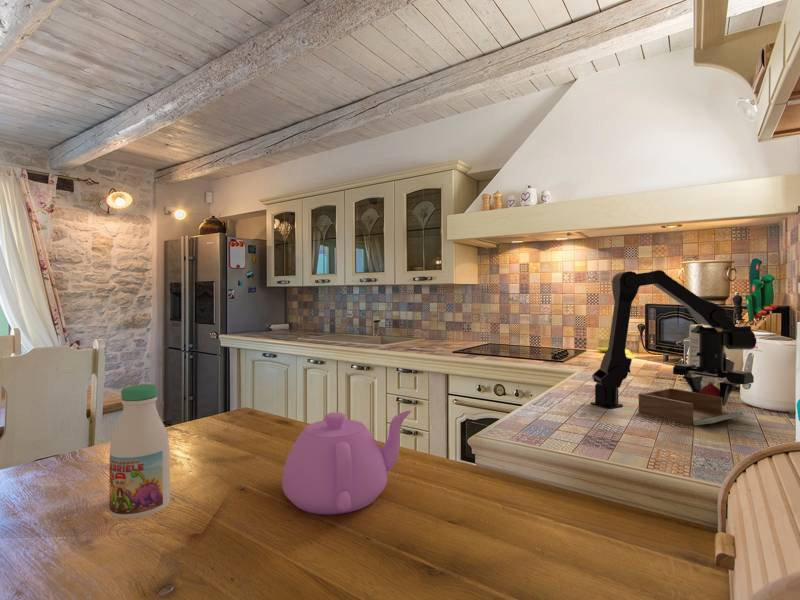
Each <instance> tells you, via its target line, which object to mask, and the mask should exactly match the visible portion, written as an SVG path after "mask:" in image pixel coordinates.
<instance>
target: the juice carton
mask: <svg viewBox="0 0 800 600" xmlns="http://www.w3.org/2000/svg"><path fill="white" fill-rule="evenodd" d="M697 325H702V326H703V327H704V328H713V327H711V326H709V325H703V324H701V323H699V324H690V325H689V333H688V336H689V338H688V339H689V341H688V342H689V343H688V344H689V345H688V349H689V350H688V353H689V355H688V357H689V360H688V361H689V362H688V364H689V365H695V366H696V368H697V367H698V366H699V356H697V352H699V334H697V333H692V332H691V330H693V329H694V328H695V327H696V326H697ZM715 329H716V330H717V331H722V329H718V328H715ZM726 351H727V348H726V347H725V346H724V345H723V353H726ZM699 376H703V375H699ZM709 382H712V383H713V385H714V386H716V387H717V388H718V389H719V390H720V382H724V378H717V377H710V376H703V378H702V381H701V389H702V388H703V387H705V386H707V385H708V384H709ZM689 390H690V392H693V391H692V389H691V387H690V386H689Z"/></svg>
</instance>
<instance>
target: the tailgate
mask: <svg viewBox="0 0 800 600" xmlns="http://www.w3.org/2000/svg"><path fill="white" fill-rule="evenodd" d="M740 416H741V417H742V416H744V412H743V411H737V412H732V413H724V414H723V415H719V416H715V417H712V418H708V419H704V420H700V421H696V422H693V424H694V425H693V426H700V425H707V424H709V425H710V424H715V423H718V422H722V421H725V420H726V421H727V420H729V419H734V418H736V417H740Z"/></svg>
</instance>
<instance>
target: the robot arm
mask: <svg viewBox="0 0 800 600" xmlns="http://www.w3.org/2000/svg"><path fill="white" fill-rule="evenodd" d="M650 285H653V286H655V287H656V288H658V289H659V290H660V291H662V292H664V293H665V295H666V294H667V296H669V297H670V298H672V299H673V300H675V301H676V302H678V303H679V304H681V306H683V307H685V309H687V310H688V313H689V315H690V316H691V317H692V318H694V319H695V320H696V322H697V323H699V324H703V325H709V326H711V327H713V328H704V327H703V326H702V325H697V326H696V327H695V328H694V329H693V330H691V332H692V333H697V334H699V352H697V356H699V366H698V367H697V368H696V366H695V365H689V363H688V364H687V363H680V364H675V365H674V366H673V367H672V374H673V375H677V376H682V379H683V380H686V382H687V384H688V385H689V388H690V387H691V389H692V391H691V392H695V393H699V392H700V390H701V381H702V378H703V376H710V377H717V378H724V382H720V397H723V407H724V406H725V405H726V403H727V401H728V399H729V398H730V395H731V393H732V391H733V390H734V388H735V387H736V386H738V385H747V384H748V385H749V384H754V382H755V381H754V375H753V373H752V372H750V371H745V370H744V371H743V370H734V367H735V362H734V361H732V360H731V359H728V358H727V354H726V353H723V345H724V346H725V347H726V350H748V351H749V350H754V348H755V347H756V345H757V337H756V335H755V333H754V332H753V331H752V326H751V325H737V326H736V325H735V324H734V322H732V320H731V319H730V317H729V316H728V311H727V310H726V309H725V308H724V307H723V306H720V305H718V304H717V303H714V302H713V301H709V300H706V299H705V298H702V297H699V296H698V295H697V294H695V293H694V292H692V291H691V290H689V289H688V288H687V287H685V286H683V284H681V283H679V282H678V281H677V280H675V279H673V277H671V276H669V275H668V274H667V273H666V272H665V271H664V270H661V269H656V270H650V271H648V272H642V273H641V272H640V273H636V272H635V271H633V270H631V271H622V272H618V273H616V274H615V275H614V276H613V277H612V280H611V287H612V288H611V292H612V296H613V299H614V303H613V304H614V305H613V313H612V320H611V325H610V334H609V340H608V347H607V350H606V352H604V355H603V357H602V361H601V363H600V366H599V368H598V369H597V370H596V371H595V372H594V373H593V374H592V375H591V376H592V380H593V382H594V383H595V384H594V401H593V402H592V401H591V402H590V405H593V406H597V407H601V408H605V409H608V410H609V409H610V410H611V409H615V408H620V407H623V406H624V404H622V403H620V402H619V388H621V385H622V383H623V381H624V380H625V379H627V377H628V374H631V364H632V360H633V359H632V358H630V357H628V356H627V354H626V345H627V339H628V332H629V324H630V317H631V311H632V310H631V309H632V304H633V302H634V300H635V298H636V296H637V295H638V293H639V289H640V287H643V286H650ZM715 328H718V329H722V331H717V330H716V329H715ZM699 375H703V376H699Z"/></svg>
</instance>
